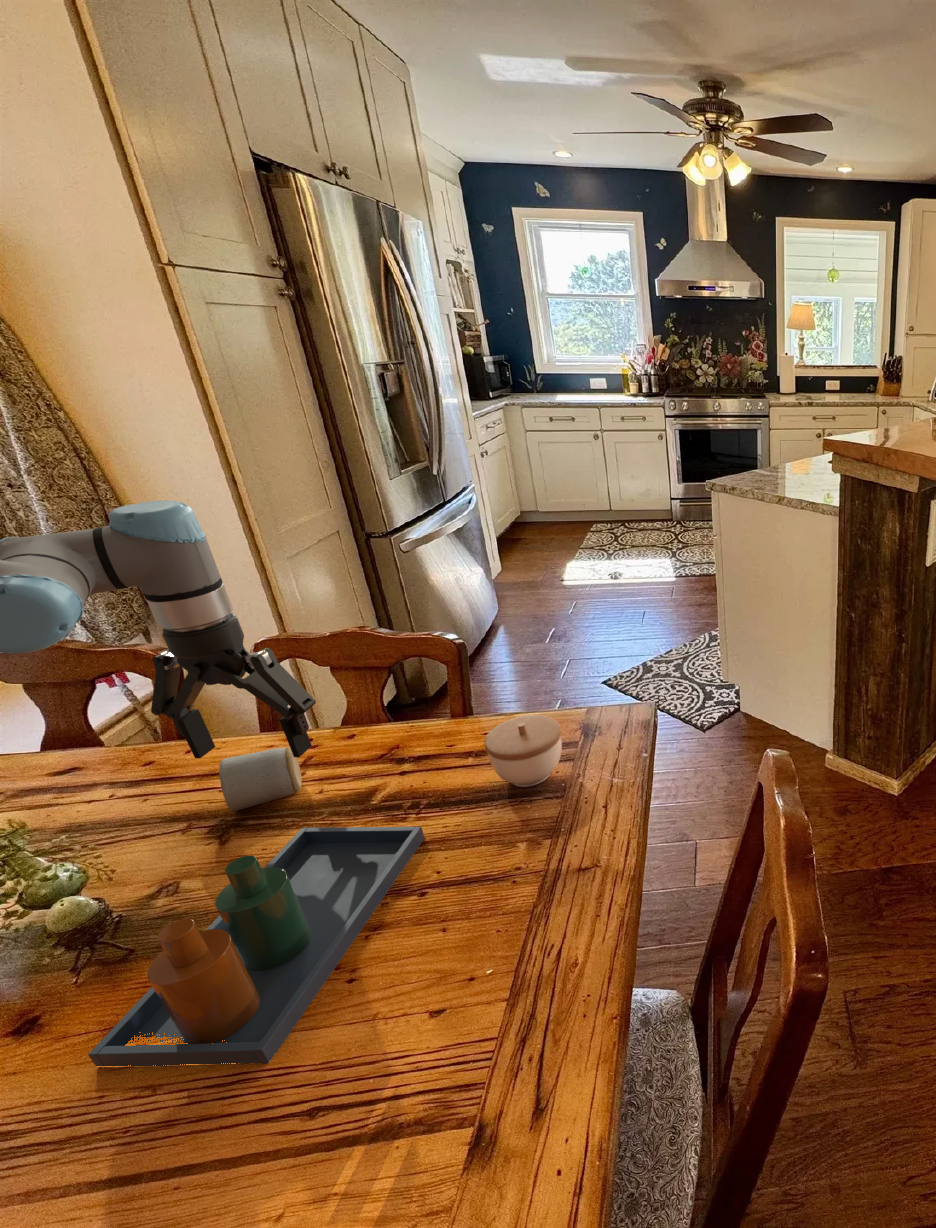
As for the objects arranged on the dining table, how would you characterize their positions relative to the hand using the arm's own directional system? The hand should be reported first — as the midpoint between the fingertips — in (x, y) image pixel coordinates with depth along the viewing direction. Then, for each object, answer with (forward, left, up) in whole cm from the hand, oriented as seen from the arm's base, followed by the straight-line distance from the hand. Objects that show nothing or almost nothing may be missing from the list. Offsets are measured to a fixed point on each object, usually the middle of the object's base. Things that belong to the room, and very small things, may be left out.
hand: (254, 752), depth 94 cm
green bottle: (+20, -27, -7) cm, 34 cm away
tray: (+20, -25, -7) cm, 33 cm away
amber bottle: (+20, -35, -7) cm, 41 cm away
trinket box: (+37, +4, -7) cm, 38 cm away
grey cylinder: (0, 0, -8) cm, 7 cm away
